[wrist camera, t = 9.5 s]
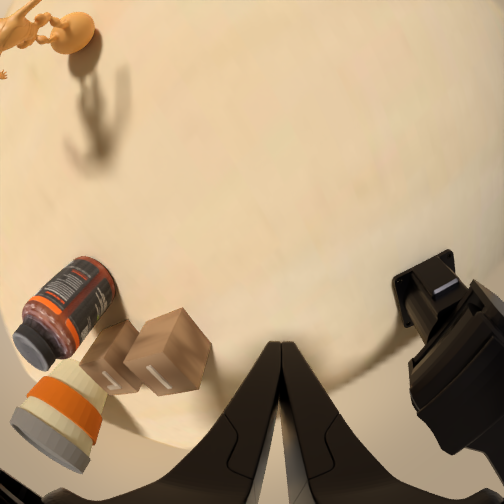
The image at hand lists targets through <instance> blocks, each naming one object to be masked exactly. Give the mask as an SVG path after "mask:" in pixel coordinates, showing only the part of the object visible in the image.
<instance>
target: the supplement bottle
mask: <svg viewBox="0 0 504 504" xmlns="http://www.w3.org/2000/svg"><path fill="white" fill-rule="evenodd" d="M114 296H115V287H114V283H113V280H112V277H111V276H110V274H109V273H108V271H107V270H106V269H105V267H104V266H103V265H102V264H100V263H99V262H98V261H96V260H95V259H93V258H90V257H86V256H81V257H78V258H76V259H74V260H73V261H71V262H70V263H69V264H68V265H67V266H66V267H64V268H63V269H62V270H61V271H60V272H59V273H58V274H56V275H55V276H54V277H53V278H52V279H51V280H50V281H49V282H48V283H46V285H44V286H43V287H42V288H41V289H40V290H39V291H38V292H37V293H36V294H35V295H34V296H33V297H32V298H31V299H30V300H29V301H28V302H27V303H26V304H25V306H24V308H23V311H22V319H23V323H22V324H21V325H20V326H19V328H18V329H17V330H16V331H15V332H14V334H13V341H14V343H15V346H16V348H17V349H18V351H19V352H20V353H21V355H22V356H23V357H24V358H25V359H26V360H27V361H28V362H29V363H30V364H31V365H33V366H34V367H35V368H37V369H39V370H41V371H48V370H49V368H50V367H51V365H52V364H53V363H54V362H55V359H68V358H70V357H71V356H72V355H73V354H74V353H75V351H76V350H77V348H78V347H79V346H80V345H81V343H82V342H83V340H84V339H85V338H86V336H87V335H88V333H89V332H90V330H91V329H92V328H93V327H94V325H95V324H96V323H97V321H98V320H99V318H100V317H101V316H102V314H103V313H104V312H105V310H106V309H107V308H108V307H109V305H110V304H111V302H112V301H113V299H114Z"/></svg>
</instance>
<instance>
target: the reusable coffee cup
mask: <svg viewBox="0 0 504 504" xmlns="http://www.w3.org/2000/svg"><path fill="white" fill-rule="evenodd" d="M79 363H80V362H78V361H76V360H73V359H64V360H63V361H62V362H61V363H60V364H59V365H58V366H57V367H56V368H55V369H54V370H53V371H52V372H51V373H50V374H49V375H48V376H44V377H43V378H42V379H41V380H40V381H39V382H38V383H37V384H36V385H35V386H34V387H33V388H32V389H31V390H30V392H29V393H28V394H27V399H26V400H25V402H24V403H23V404H22V405H21V406H20V407H16V409H15V412H14V414H13V416H12V418H11V420H10V424H11V425H12V427H13V428H14V429H15V430H16V431H17V432H18V433H19V434H20V435H21V436H22V437H23V438H24V439H26V440H27V441H28V442H29V443H30V444H32V445H33V446H34V447H35V448H37V449H38V450H39V451H41V452H42V453H44V454H45V455H46V456H48V457H49V458H51V459H52V460H54V461H56V462H57V463H59V464H61V465H63V466H64V467H66V468H68V469H70V470H72V471H74V472H76V473H79V474H83V472H84V470H85V468H86V467H87V465H88V464H89V462H90V458H89V455H90V451H91V448H92V445H95V444H96V440H97V437H98V433H99V430H100V426H101V423H102V417H101V414H102V410H103V407H104V404H105V401H106V398H107V395H108V393H107V392H105V391H104V390H103V389H102V388H101V387H100V386H99V385H98V384H97V383H96V382H95V381H94V380H93V379H92V378H91V377H90V376H89V375H88V374H87V373H86V372H85V371H84V370H83V369H82V368H81V367H80V366H79Z"/></svg>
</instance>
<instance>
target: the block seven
mask: <svg viewBox="0 0 504 504" xmlns="http://www.w3.org/2000/svg"><path fill="white" fill-rule="evenodd" d="M138 335H139V332H138V331H137V330H136V329H135V327H134V326H133V325H132V324H131V323H130V321H129V320H126V321H123V322H121V323H119V324H116V325H114V326H111V327H109V328H107V329H104V330H102V331H101V333H100V334H99V336H98V337H97V338H96V340H95V341H94V343H93V344H92V346H91V347H90V348H89V350H88V351H87V353H86V354H85V356H84V357H83V359H82V360H81V362H80V363H79V366H80V367H81V368H82V369H83V370H84V371H85V372H86V373H87V374H88V375H89V376H90V377H91V378H92V379H93V380H94V381H95V382H96V383H97V384H98V385H99V386H100V387H101V388H102V389H103V390H104V391H105V392H107V393H108V394H109V395H110V396H111V395H120V394H128V393H136V392H138V391H139V389H140V387H141V384H142V381H141V380H140V379H139V378H138V377H137V376H136V375H135V374H134V373H133V372H132V371H131V370H130V369H129V368H128V367H127V366H126V365H125V364H124V363H123V362H124V360H125V358H126V356H127V354H128V353H129V351H130V349H131V347H132V345H133V344H134V342H135V340H136V338H137V337H138Z"/></svg>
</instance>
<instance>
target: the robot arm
mask: <svg viewBox="0 0 504 504" xmlns="http://www.w3.org/2000/svg"><path fill="white" fill-rule="evenodd" d="M448 254H449V256H448ZM447 256H448V257H447ZM399 279H400V281H399V282H397V281H398V280H399ZM393 284H394V287H395V291H396V296H397V300H398V304H399V308H400V313H401V317H402V322H403V325H404V327H405V328H408V327H411V326H413V325H415V327H416V329H417V331H418V333H419V334H420V336H421V338H422V340H423V342H424V344H425V346H424V347H423V349H422V350H421V351H420V352H419V353H418V354H417V355H416V356H415V357H414V358H412V359H411V360H410V361H409V362H408V367H409V379H410V395H411V401H412V405H413V406H414V408H415V410H416V411H417V416H418V417H419V418H420V419H422V421H424V422H425V423H426V424H427V426H428V427H429V428H430V429H431V431H432V432H433V434H434V436H435V438H436V439H437V441H438V443H439V445H440V447H441V449H442V450H443V451H445V452H446V453H448V454H450V455H455V454H456V453H458V452H459V451H460V450H462V449H463V448H468V449H471V450H475V451H479V452H482V453H484V455H485V456H486V457H487V459H488V460H489V462H490V464H491V465H492V467H493V469H494V470H495V472H496V474H497V475H498V477H499V479H500V480H501V482H502V484H503V486H504V302H503V301H502V300H501V299H500V298H499V297H498V296H497V295H495V294H494V293H493V292H491V291H490V290H489V289H487V288H485V287H484V286H483V285H481V284H480V283H479V282H477V281H476V280H474V279H473V281H472V282H471V284H470V287H469V289H468V288H467V287H466V286H465V285H464V284H463V283H462V282H461V280H460V279H459V277H458V276H457V275H456V274H455V264H454V255H453V252H452V251H451V250H450V249H447V250H445V251H443V252H441V253H439V254H438V255H436V256H434V257H432V258H430V259H428V260H426V261H424V262H422V263H420V264H418V265H416V266H414V267H412V268H410V269H408V270H406V271H404V272H402V273H400V274H398V275H396V276H395V277H394V279H393ZM278 402H279V407H280V417H281V425H282V435H283V445H284V454H285V464H286V474H287V484H288V495H289V504H504V498H502V497H501V496H500V495H499V494H498V493H497V492H494V491H492V490H490V489H488V488H485V489H482V490H481V491H479V492H477V493H475V494H473V495H472V496H470V497H467V498H465V499H459V500H454V499H448V498H444V497H441V496H438V495H435V494H432V493H429V492H427V491H424V490H421V489H418V488H416V487H413V486H411V485H408V484H406V483H404V482H401V481H400V480H398V479H396V478H395V477H393V476H392V475H391V474H390V473H389V472H388V471H387V470H386V469H385V468H384V467H383V466H382V465H381V464H380V463H379V462H378V461H377V459H375V457H374V456H373V455H372V454H371V453H370V452H369V451H368V450H367V448H366V447H365V446H364V445H363V444H362V443H361V442H360V440H359V439H358V438H357V437H356V436H355V434H354V433H353V432H352V430H351V429H350V427H349V426H348V425H347V423H346V422H345V420H344V419H343V417H342V416H341V414H339V411H338V410H337V408H336V407H335V405H334V404H333V402H332V400H331V399H330V397H329V396H328V394H327V393H326V391H325V390H324V388H323V387H322V385H321V383H320V382H319V380H318V379H317V377H316V376H315V374H314V373H313V371H312V369H311V368H310V366H309V365H308V363H307V362H306V360H305V358H304V357H303V355H302V354H301V352H300V351H299V349H298V347H297V346H296V344H295V343H294V342H292V341H283V342H282V343H281V342H279V341H269V342H268V343H267V345H266V346H265V348H264V349H263V351H262V353H261V354H260V356H259V358H258V359H257V361H256V362H255V364H254V366H253V367H252V369H251V370H250V372H249V373H248V375H247V377H246V378H245V380H244V381H243V383H242V384H241V386H240V387H239V389H238V390H237V392H236V393H235V395H234V396H233V398H232V399H231V401H230V402H229V404H228V405H227V407H226V408H225V410H224V411H223V413H222V414H221V416H220V417H219V418H218V420H217V421H216V423H215V424H214V425H213V427H212V428H211V429H210V431H209V432H208V433H207V434H206V435H205V437H204V438H203V439H202V440H201V441H200V442H199V443H198V444H197V445H196V446H195V447H194V448H193V449H192V450H191V451H190V453H188V454H187V455H186V456H185V457H184V458H183V459H182V460H181V461H180V462H179V463H178V464H177V465H176V466H175V467H174V468H173V469H172V470H171V471H170V472H169V473H167V474H166V475H165V476H163V477H162V478H160V479H159V480H157V481H155V482H153V483H151V484H148V485H146V486H143V487H141V488H138V489H136V490H133V491H130V492H128V493H125V494H122V495H119V496H116V497H113V498H110V499H106V500H102V501H92V500H87V499H84V498H82V497H80V496H78V495H76V494H74V493H72V492H70V491H69V490H67V489H65V488H59V489H57V490H54V491H52V492H50V493H48V494H47V495H45V496H44V497H41V496H40V495H38V494H37V493H35V492H34V491H32V490H31V489H29V488H28V487H26V486H25V485H23V484H22V483H21V482H19V481H18V480H17V479H15V478H14V477H12V476H11V475H9V474H8V473H6V472H5V471H4V470H2V469H1V468H0V504H258V500H259V495H260V492H261V487H262V483H263V479H264V474H265V470H266V465H267V460H268V456H269V451H270V445H271V441H272V436H273V431H274V425H275V420H276V415H277V409H278Z"/></svg>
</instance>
